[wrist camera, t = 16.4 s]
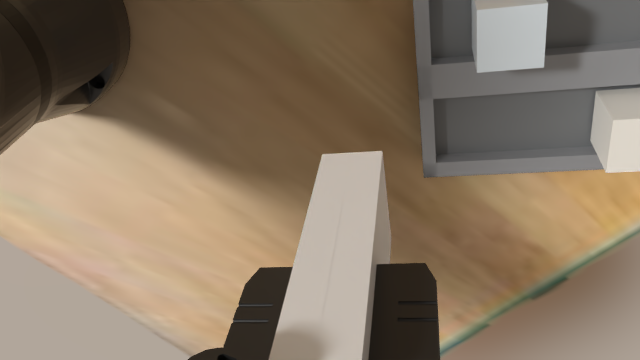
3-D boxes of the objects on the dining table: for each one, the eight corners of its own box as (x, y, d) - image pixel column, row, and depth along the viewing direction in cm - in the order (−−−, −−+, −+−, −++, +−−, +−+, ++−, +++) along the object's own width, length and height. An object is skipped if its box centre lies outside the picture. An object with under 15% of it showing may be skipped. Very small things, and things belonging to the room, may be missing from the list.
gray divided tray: (423, 159, 48) (423, 178, 46) (411, -43, 40) (410, -32, 37) (692, 145, 44) (707, 165, 42) (743, -82, 36) (765, -73, 33)
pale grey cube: (471, 47, 40) (477, 72, 37) (471, -11, 38) (476, 10, 35) (532, 41, 40) (544, 67, 36) (535, -18, 38) (548, 3, 34)
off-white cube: (590, 140, 43) (605, 172, 40) (595, 90, 41) (613, 120, 37) (649, 137, 42) (670, 169, 39) (658, 86, 40) (682, 116, 37)
